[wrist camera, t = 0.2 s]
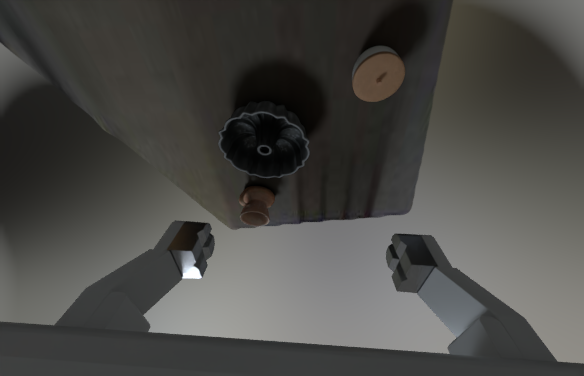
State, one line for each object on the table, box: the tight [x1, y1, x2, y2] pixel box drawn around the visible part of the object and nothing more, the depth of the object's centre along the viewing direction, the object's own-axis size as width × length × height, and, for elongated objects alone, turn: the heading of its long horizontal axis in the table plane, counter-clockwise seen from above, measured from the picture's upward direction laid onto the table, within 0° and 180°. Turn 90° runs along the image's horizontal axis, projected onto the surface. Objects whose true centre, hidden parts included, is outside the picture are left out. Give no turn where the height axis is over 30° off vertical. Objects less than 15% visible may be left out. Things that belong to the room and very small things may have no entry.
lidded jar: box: [352, 46, 405, 102], centre depth 50 cm, size 11×11×9 cm
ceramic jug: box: [239, 186, 275, 226], centre depth 95 cm, size 18×14×14 cm
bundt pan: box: [219, 101, 310, 178], centre depth 68 cm, size 26×26×10 cm
